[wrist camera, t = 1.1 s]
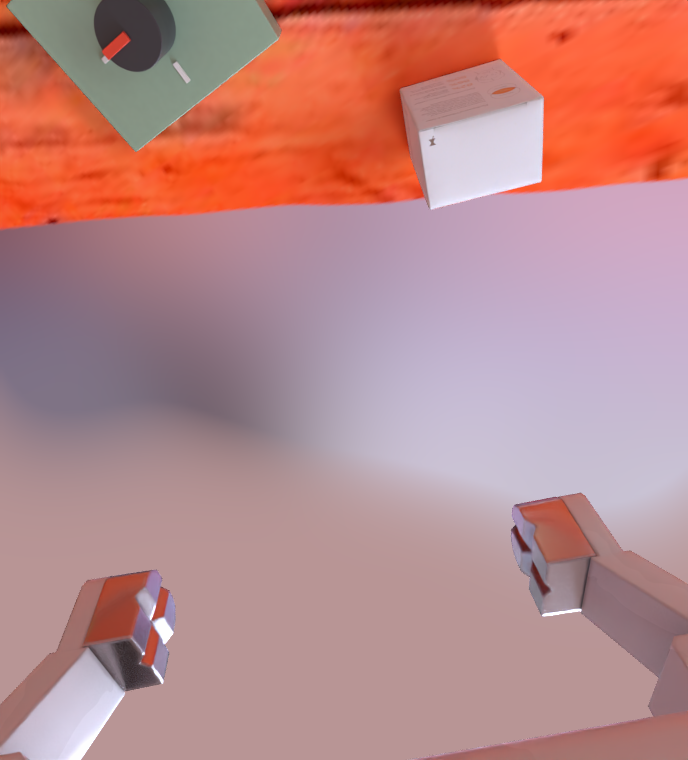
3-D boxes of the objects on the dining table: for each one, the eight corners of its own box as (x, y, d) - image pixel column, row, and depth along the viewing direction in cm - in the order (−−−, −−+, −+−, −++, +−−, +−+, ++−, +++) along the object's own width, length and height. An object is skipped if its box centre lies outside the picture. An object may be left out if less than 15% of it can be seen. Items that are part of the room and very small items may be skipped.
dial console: (171, -156, 30) (158, -160, 28) (281, 30, 37) (278, 39, 35) (25, -1, 35) (4, 6, 33) (145, 139, 42) (135, 153, 40)
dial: (143, -30, 32) (123, -22, 29) (188, 34, 34) (174, 47, 31) (100, 11, 33) (77, 23, 30) (146, 70, 36) (129, 86, 33)
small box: (409, 157, 43) (426, 213, 36) (398, 86, 40) (414, 131, 32) (504, 132, 42) (543, 184, 34) (502, 56, 38) (545, 96, 31)
